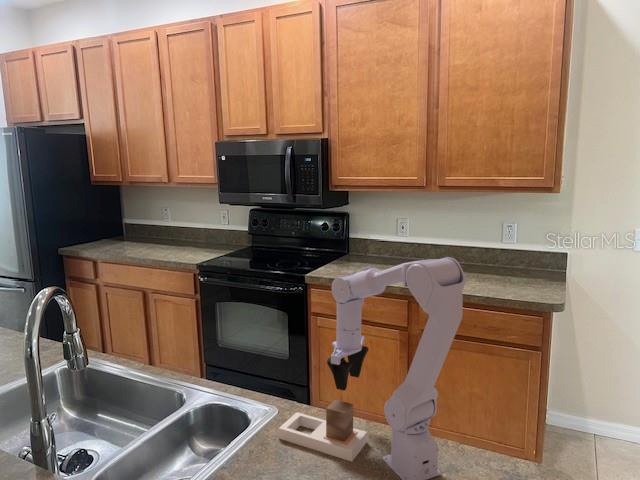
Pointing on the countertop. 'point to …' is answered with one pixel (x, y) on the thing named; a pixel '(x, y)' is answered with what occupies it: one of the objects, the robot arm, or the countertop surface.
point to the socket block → (321, 437)
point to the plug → (339, 420)
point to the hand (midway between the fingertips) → (348, 382)
